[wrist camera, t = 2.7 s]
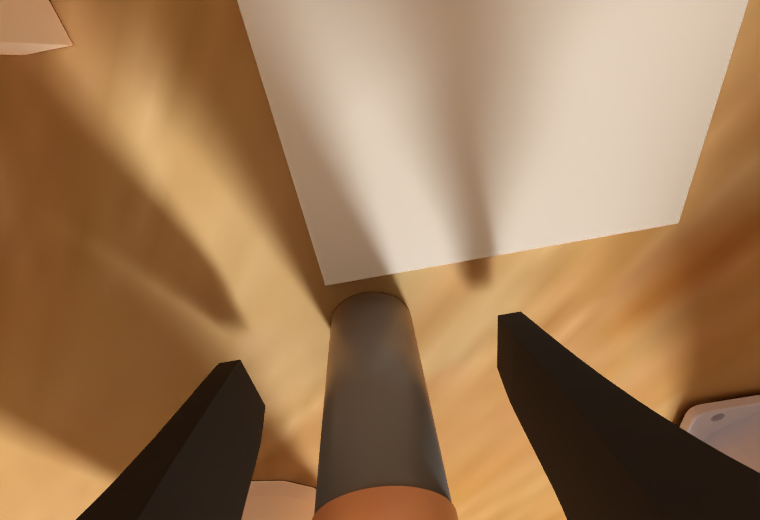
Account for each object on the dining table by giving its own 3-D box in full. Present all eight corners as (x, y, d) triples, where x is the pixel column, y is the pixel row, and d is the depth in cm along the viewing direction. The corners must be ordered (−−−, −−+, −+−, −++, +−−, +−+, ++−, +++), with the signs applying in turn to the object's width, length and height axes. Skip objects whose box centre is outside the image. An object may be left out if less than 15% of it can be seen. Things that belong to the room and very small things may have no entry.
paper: (800, -221, 6) (823, -235, 5) (670, 219, 10) (678, 223, 9) (211, -96, 6) (205, -102, 6) (325, 280, 10) (325, 285, 10)
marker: (407, 283, 10) (481, 600, 4) (417, 347, 12) (483, 654, 6) (320, 299, 10) (272, 631, 4) (340, 360, 12) (325, 676, 6)
